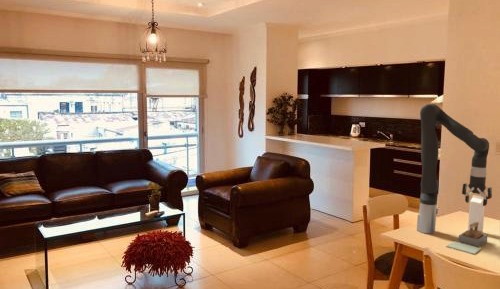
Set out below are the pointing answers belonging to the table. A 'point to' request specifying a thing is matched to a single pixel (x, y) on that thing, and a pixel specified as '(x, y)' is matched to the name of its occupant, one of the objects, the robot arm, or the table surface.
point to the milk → (476, 212)
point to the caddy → (474, 231)
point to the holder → (473, 240)
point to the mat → (464, 247)
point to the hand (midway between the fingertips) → (475, 204)
